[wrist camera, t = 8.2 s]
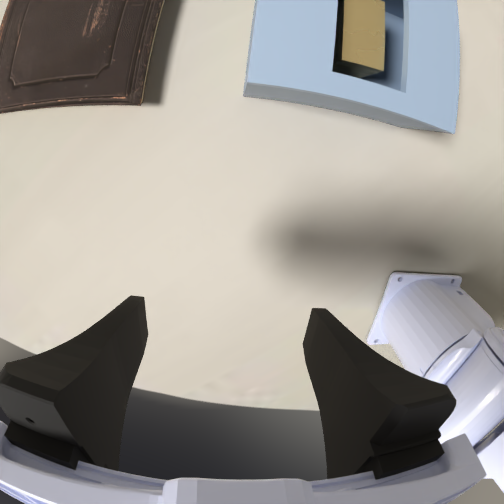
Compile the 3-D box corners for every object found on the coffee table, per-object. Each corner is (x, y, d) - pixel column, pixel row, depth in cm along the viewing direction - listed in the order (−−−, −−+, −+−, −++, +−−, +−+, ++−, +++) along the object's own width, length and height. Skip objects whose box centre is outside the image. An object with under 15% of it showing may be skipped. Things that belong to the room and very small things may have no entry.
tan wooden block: (357, 20, 15) (384, 1, 11) (354, 79, 17) (383, 71, 13) (323, 12, 15) (344, -12, 11) (319, 72, 17) (341, 59, 13)
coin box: (408, 17, 15) (456, -3, 9) (401, 127, 19) (454, 134, 13) (258, -23, 14) (268, -69, 8) (243, 96, 18) (247, 82, 12)
